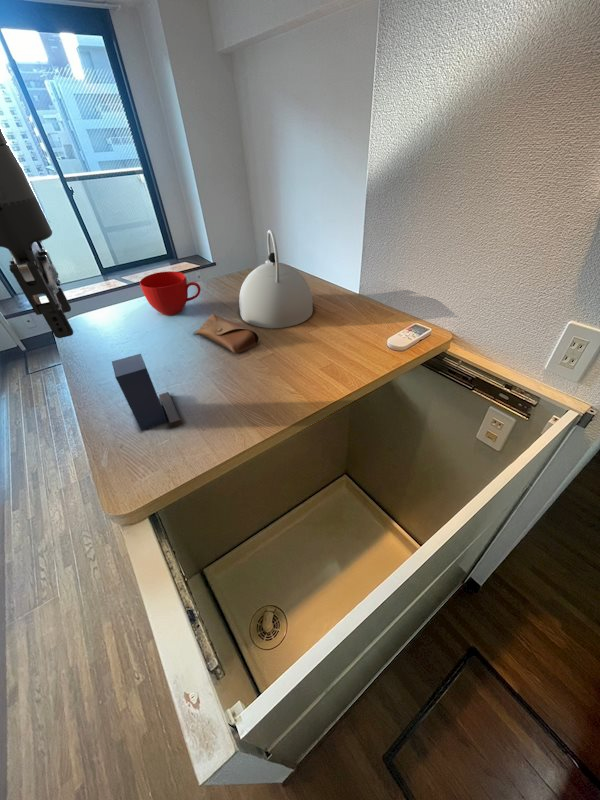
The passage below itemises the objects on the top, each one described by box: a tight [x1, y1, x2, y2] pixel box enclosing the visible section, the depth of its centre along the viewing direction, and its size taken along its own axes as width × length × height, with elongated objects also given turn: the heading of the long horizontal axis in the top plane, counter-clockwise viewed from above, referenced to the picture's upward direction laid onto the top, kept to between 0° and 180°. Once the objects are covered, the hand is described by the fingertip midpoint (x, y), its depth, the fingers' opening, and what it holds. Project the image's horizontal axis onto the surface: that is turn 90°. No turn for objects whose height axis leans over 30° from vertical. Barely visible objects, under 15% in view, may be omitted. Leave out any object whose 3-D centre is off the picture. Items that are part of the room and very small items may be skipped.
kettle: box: [238, 229, 314, 329], centre depth 95 cm, size 25×23×22 cm
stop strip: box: [158, 391, 182, 428], centre depth 67 cm, size 2×10×1 cm, turn 30°
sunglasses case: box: [194, 312, 259, 354], centre depth 89 cm, size 18×7×7 cm, turn 51°
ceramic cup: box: [139, 270, 201, 316], centre depth 99 cm, size 13×17×10 cm
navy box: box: [111, 353, 168, 431], centre depth 62 cm, size 5×6×13 cm
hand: (64, 323), depth 48 cm, fingers open, 8 cm apart
